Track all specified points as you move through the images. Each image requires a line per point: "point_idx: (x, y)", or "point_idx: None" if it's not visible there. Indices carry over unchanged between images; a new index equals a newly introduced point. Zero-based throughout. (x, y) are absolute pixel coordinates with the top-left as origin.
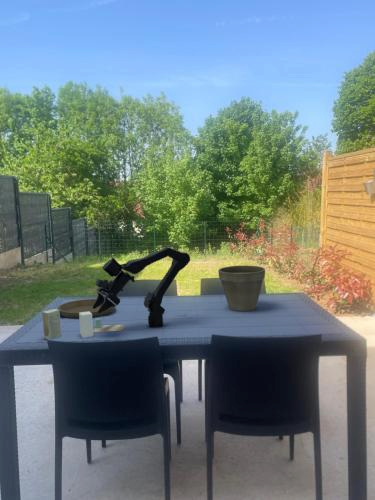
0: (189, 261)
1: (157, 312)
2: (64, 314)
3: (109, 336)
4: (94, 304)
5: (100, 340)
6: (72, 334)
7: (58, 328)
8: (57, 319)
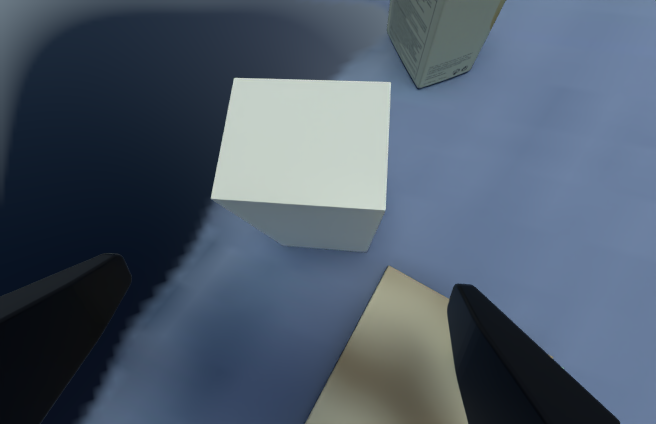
0: None
1: None
2: None
3: (232, 348)
4: (479, 328)
5: (193, 262)
6: (431, 153)
7: (421, 29)
8: None
